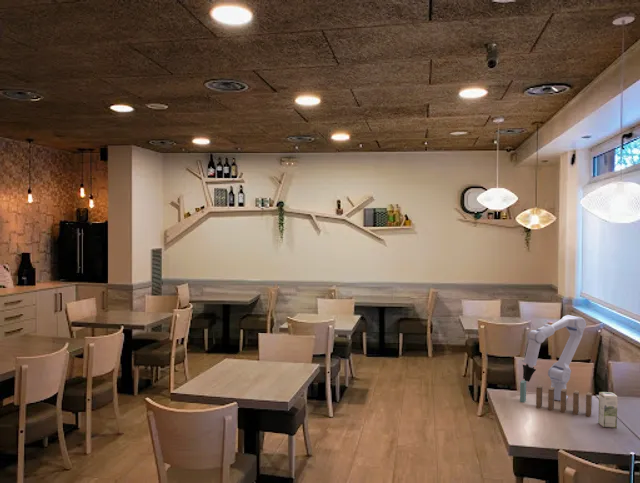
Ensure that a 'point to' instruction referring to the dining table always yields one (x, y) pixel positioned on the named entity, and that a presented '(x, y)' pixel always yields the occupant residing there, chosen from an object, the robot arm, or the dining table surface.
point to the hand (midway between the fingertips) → (526, 380)
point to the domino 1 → (523, 391)
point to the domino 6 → (588, 404)
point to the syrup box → (608, 409)
